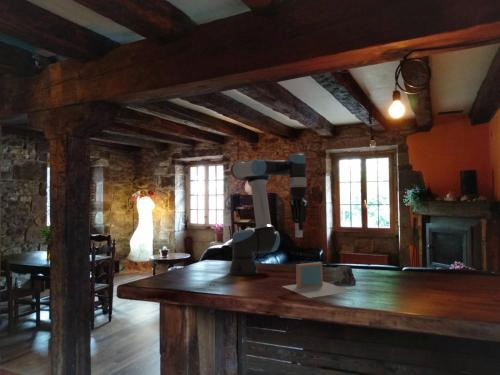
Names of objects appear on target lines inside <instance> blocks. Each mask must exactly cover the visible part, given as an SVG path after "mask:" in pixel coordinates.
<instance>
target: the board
mask: <svg viewBox="0 0 500 375" xmlns="http://www.w3.org/2000/svg"><path fill="white" fill-rule="evenodd" d="M281 288H285V289H287V290H290V291H291V292H293V293H294V292H295V293H297V294H298V295H301V296H304V297H306V298H308V299H313V298H318V297H325V296H331V295H332V296H333V295H338V294H345V293H351V292H352V293H353V292H354V291H353V290H350V289H348V288H345V287H341V286H338V285H335V284H332V283H329V282H326V281H323V286H315V287H308V288H301V289H300V288H297V287H296V284H288V285H282V286H281Z"/></svg>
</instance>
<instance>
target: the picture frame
mask: <svg viewBox="0 0 500 375" xmlns="http://www.w3.org/2000/svg"><path fill="white" fill-rule="evenodd" d="M323 273H324V272H323V262H319V261H316V262H306V263H299V264H297V263H296V264H295V277H296V278H295V280H296V281H295V282H296V287H297V288H300V289H301V288H308V287H315V286H323V282H324V280H323V278H324V277H323V276H324V275H323Z"/></svg>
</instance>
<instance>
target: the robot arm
mask: <svg viewBox="0 0 500 375" xmlns="http://www.w3.org/2000/svg"><path fill="white" fill-rule="evenodd" d="M229 171H230V174H231V176H232V178H234V179H236V180H238V181H243V182H244V181H246V182H247V184H248V186H249V187H251V195H252V203H253V211H254V220H255V227H254V229H242V230H238V231H235V232H233V234H232V239H231V243H232V260H231V264H230V268H229V275H230V276H235V277H247V276H255V275H258V268H257V264H256V262H255V257H254V256H255V254H261V253H272V252H275V251H276V252H277V250H278V248H279V246H280V243H281V237H280V233H279V231H277V230H275V227H274V225H272V221H271V220H272V219H271V213H270V208H269V199H268V193H267V186H266V185H267V184H268V182H269V180H270V179H271V176H281V177H288V176H289V186H290V189H289V190H290V191H289V192H290V193H289V194H290V195H291V196H292V199H291V201H289V202H288V204H289V206H290V208H289V209H290V214H291V221H292V222H293V223H294V233H295V238H304V235H303V232H304V231H303V230H304V227H303V226H304V225H303V224H304V223H305V222H307V211H308V206H309V200H306V198H305V196H306V195H307V187H306V186H307V161H306V155H305V154H304V153H291V154H290V155H289V159H284V160H283V159H280V160H279V159H259V158H258V159H253V160H238V161H236V162H233V163H232V165H231V166H230V170H229Z"/></svg>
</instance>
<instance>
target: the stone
mask: <svg viewBox="0 0 500 375" xmlns="http://www.w3.org/2000/svg"><path fill="white" fill-rule="evenodd" d="M333 275H334V277H335V279H336V281H337V283H341V284H346V285H351V286H353V285H354V286H355V285H356V284H357V281H356V278H355V275H354V273H353V268H352V266H349V265H348V266H347V265H339V266H337V267H335V269H334V274H333Z"/></svg>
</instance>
